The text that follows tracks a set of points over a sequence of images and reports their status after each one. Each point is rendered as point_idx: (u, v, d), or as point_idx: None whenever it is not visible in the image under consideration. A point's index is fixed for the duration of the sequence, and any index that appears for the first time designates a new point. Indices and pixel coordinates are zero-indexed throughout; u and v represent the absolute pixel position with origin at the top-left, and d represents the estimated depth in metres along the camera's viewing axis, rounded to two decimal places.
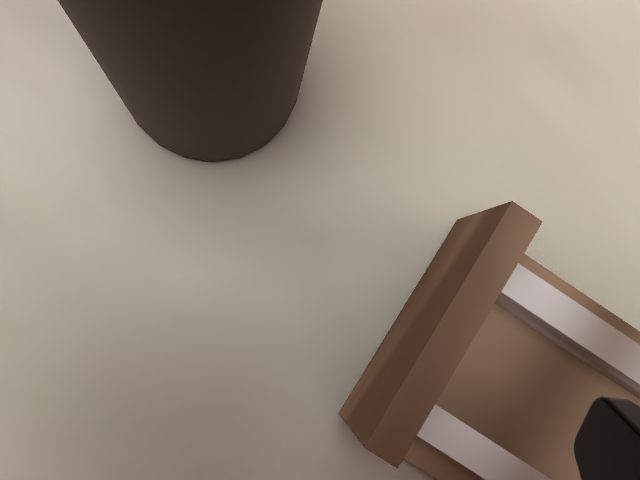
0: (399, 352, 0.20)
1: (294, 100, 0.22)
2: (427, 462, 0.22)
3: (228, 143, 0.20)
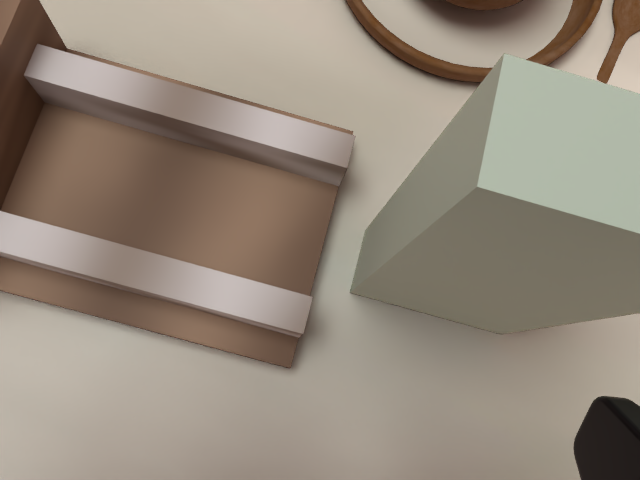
0: None
1: None
2: (42, 290, 0.20)
3: None
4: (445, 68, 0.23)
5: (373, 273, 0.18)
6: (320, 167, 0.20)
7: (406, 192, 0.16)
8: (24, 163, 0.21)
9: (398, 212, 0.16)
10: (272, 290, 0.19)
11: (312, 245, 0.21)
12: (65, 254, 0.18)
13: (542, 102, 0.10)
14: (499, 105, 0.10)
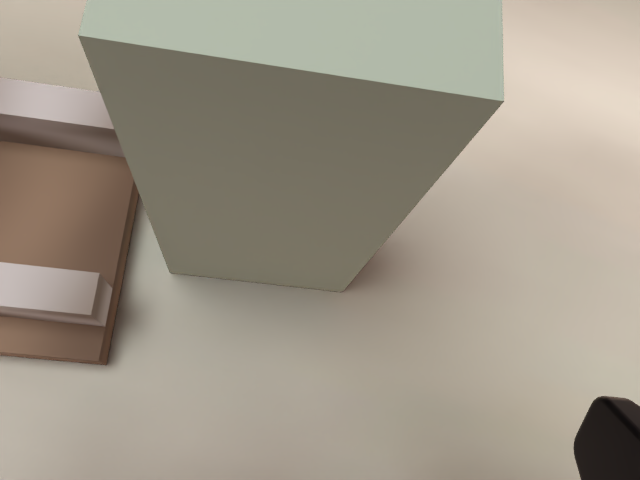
0: None
1: None
2: None
3: None
4: None
5: (155, 233, 0.16)
6: (103, 136, 0.19)
7: None
8: None
9: None
10: (50, 272, 0.16)
11: (113, 225, 0.19)
12: None
13: None
14: None
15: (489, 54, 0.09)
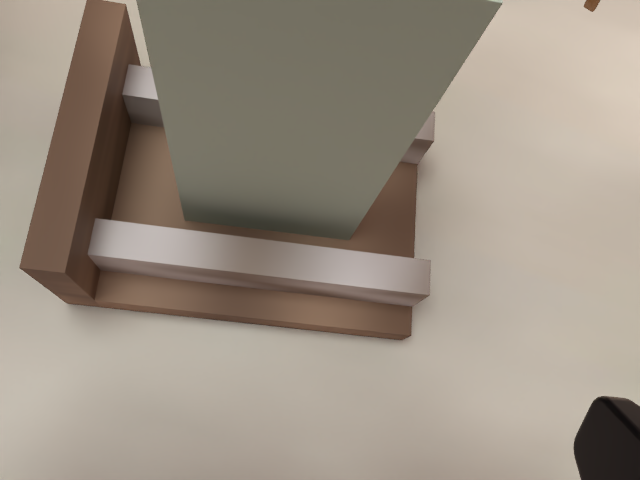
0: None
1: None
2: (165, 298, 0.20)
3: None
4: None
5: (174, 170, 0.17)
6: None
7: None
8: (123, 182, 0.21)
9: None
10: (393, 259, 0.20)
11: (406, 221, 0.22)
12: (196, 253, 0.19)
13: None
14: None
15: None
